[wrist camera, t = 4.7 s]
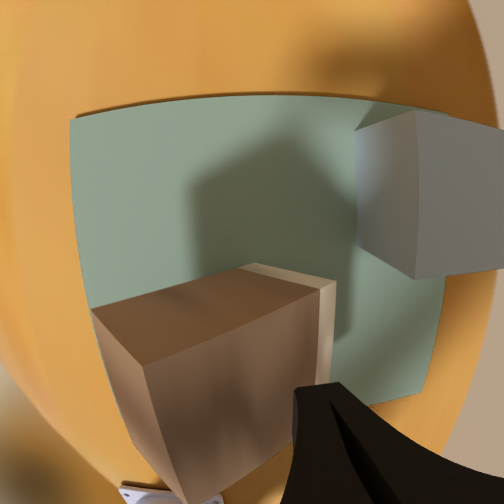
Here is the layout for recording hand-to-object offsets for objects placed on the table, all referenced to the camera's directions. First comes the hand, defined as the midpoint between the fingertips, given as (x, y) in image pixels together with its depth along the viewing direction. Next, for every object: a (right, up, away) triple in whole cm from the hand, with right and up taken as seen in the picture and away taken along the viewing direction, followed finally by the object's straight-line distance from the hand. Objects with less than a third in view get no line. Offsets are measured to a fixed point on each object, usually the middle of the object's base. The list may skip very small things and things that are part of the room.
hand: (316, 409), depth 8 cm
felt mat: (-1, +3, +6) cm, 7 cm away
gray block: (+5, +7, +5) cm, 10 cm away
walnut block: (0, +1, +4) cm, 4 cm away
